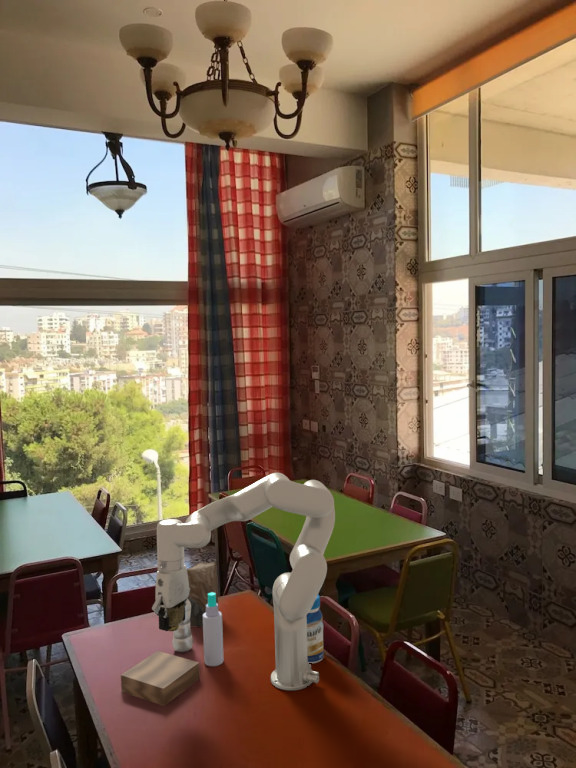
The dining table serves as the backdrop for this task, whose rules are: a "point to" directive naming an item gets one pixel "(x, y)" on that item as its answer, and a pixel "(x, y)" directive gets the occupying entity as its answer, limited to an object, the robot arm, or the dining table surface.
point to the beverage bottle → (315, 633)
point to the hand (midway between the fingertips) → (172, 624)
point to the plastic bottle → (183, 632)
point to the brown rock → (201, 589)
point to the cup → (175, 615)
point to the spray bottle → (212, 633)
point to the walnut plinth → (160, 677)
